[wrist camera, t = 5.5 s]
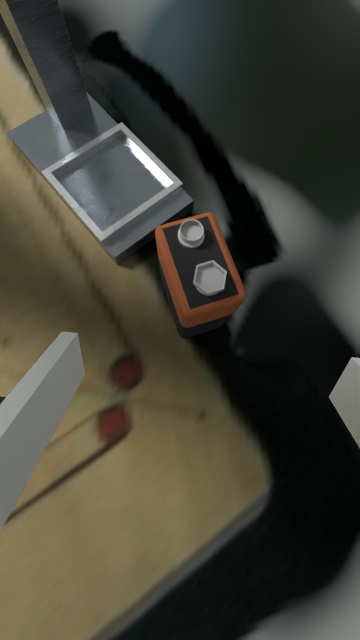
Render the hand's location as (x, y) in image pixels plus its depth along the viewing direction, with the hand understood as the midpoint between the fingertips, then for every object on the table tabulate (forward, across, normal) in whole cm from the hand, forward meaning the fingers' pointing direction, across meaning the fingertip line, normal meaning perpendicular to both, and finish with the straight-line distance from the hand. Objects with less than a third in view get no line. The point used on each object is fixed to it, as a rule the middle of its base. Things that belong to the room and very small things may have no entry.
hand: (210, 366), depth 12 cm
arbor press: (+22, -12, +7) cm, 27 cm away
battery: (+13, -1, -3) cm, 13 cm away
